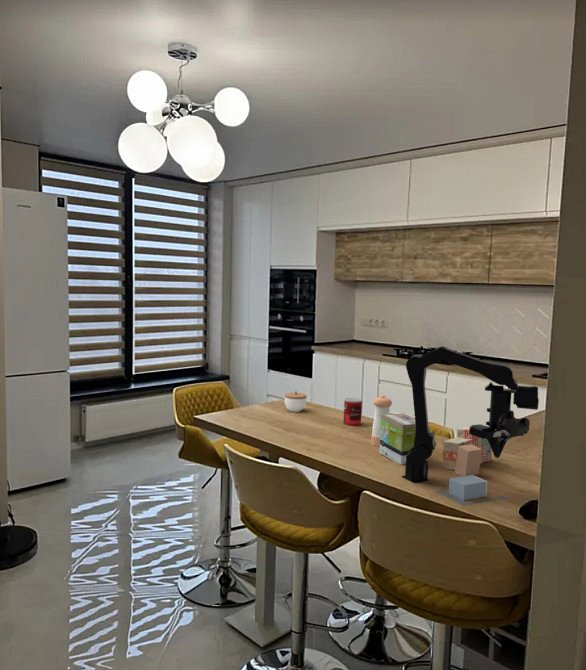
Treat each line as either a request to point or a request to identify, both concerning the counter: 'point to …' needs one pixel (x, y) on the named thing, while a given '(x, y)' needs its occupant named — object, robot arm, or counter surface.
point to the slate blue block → (467, 487)
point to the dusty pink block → (468, 460)
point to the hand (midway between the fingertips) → (497, 457)
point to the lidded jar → (295, 401)
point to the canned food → (352, 411)
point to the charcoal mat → (464, 501)
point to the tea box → (397, 436)
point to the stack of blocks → (463, 439)
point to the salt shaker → (379, 417)
